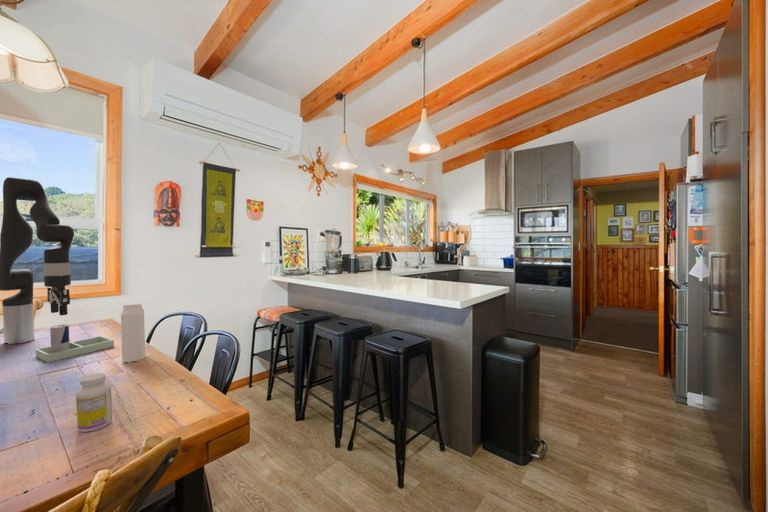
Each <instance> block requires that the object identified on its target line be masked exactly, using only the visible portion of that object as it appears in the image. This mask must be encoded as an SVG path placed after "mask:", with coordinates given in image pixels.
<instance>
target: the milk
mask: <svg viewBox="0 0 768 512" xmlns="http://www.w3.org/2000/svg"><path fill="white" fill-rule="evenodd" d="M122 307H123V308H122V311H121V313H120V327H121V329H120V331H121V332H120V333H121V358H122V360H121V363H122V364H126V363H125V362H128V363H132V362H131V361H137V362H139V361H138V360H141V359H142V358H143V357H144V356H145V357H146V336H145V335H146V334H145V333H146V332H145V329H146V328H145V310H144V308H143V305H142V304H141V303H140V304H137V303H135V304H125V305H123V306H122ZM145 357H144V358H145ZM144 358H143V359H144ZM143 359H142V360H143ZM142 360H141V361H142Z"/></svg>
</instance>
